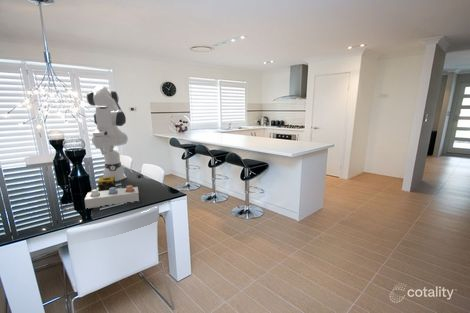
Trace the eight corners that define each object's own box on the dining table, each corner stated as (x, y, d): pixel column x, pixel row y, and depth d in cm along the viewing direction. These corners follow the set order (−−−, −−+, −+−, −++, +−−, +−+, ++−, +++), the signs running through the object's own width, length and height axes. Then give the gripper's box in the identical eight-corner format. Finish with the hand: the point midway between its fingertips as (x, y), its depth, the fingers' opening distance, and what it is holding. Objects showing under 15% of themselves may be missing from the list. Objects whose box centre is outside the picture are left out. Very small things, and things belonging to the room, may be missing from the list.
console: (88, 201, 152) (87, 192, 150) (138, 194, 164) (137, 186, 162) (85, 208, 141) (84, 199, 140) (139, 201, 153) (138, 192, 152)
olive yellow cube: (101, 190, 171) (99, 177, 169) (116, 188, 174) (115, 176, 172) (98, 195, 162) (96, 181, 159) (114, 193, 165) (113, 180, 163)
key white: (92, 197, 148) (91, 189, 147) (99, 196, 150) (98, 188, 149) (91, 199, 145) (90, 191, 144) (98, 198, 146) (98, 191, 145)
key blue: (110, 194, 152) (109, 187, 151) (116, 194, 154) (116, 186, 153) (109, 197, 149) (108, 189, 148) (116, 196, 150) (115, 188, 149)
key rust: (126, 192, 156) (126, 185, 155) (133, 191, 158) (132, 185, 157) (126, 194, 153) (126, 187, 152) (133, 194, 154) (132, 186, 153)
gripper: (109, 130, 158) (111, 150, 160) (91, 133, 137) (93, 156, 140) (118, 130, 158) (120, 150, 160) (101, 133, 138) (104, 156, 140)
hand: (107, 153), depth 150 cm, fingers open, 8 cm apart
